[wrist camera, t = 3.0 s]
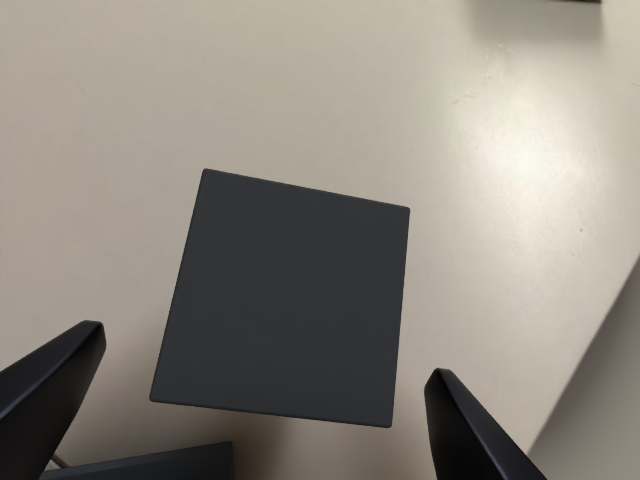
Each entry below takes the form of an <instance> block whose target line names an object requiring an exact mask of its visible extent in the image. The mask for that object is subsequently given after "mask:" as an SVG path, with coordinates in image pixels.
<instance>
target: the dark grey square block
mask: <svg viewBox="0 0 640 480" xmlns="http://www.w3.org/2000/svg"><path fill="white" fill-rule="evenodd" d="M409 216H410V208H408V207H405V206H399V205H394V204H389V203H384V202H378V201H373V200H368V199H363V198H358V197H352V196H347V195H342V194H337V193H332V192H326V191H321V190H316V189H311V188H305V187H300V186H295V185H290V184H285V183H279V182H274V181H269V180H264V179H259V178H253V177H248V176H243V175H238V174H232V173H227V172H222V171H217V170H212V169H204V170H203V172H202V176H201V180H200V185H199V189H198V193H197V197H196V202H195V206H194V210H193V214H192V218H191V223H190V227H189V231H188V235H187V240H186V244H185V248H184V252H183V256H182V261H181V265H180V269H179V273H178V278H177V282H176V286H175V290H174V294H173V299H172V303H171V307H170V311H169V315H168V320H167V324H166V328H165V332H164V337H163V341H162V345H161V349H160V353H159V358H158V362H157V366H156V370H155V375H154V379H153V383H152V387H151V391H150V396H149V398H150V401H152V402H158V403H167V404H176V405H185V406H194V407H203V408H212V409H221V410H230V411H239V412H248V413H257V414H266V415H275V416H284V417H293V418H302V419H311V420H320V421H329V422H338V423H347V424H356V425H364V426H373V427H382V428H390V427H391V426H392V418H393V406H394V394H395V382H396V371H397V359H398V347H399V335H400V323H401V311H402V299H403V287H404V275H405V264H406V252H407V240H408V228H409Z"/></svg>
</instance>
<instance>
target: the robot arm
mask: <svg viewBox="0 0 640 480" xmlns="http://www.w3.org/2000/svg"><path fill="white" fill-rule="evenodd" d="M105 350H106V338H105V332H104V326H103V324H102V323H101V322H98V321H90V320H85V321H82V322H80V323H78V324H77V325H75V326H74V327H72V328H70V329H69V330H67V331H65V332H64V333H62V334H61V335H59V336H57V337H56V338H54V339H52V340H51V341H49V342H48V343H46V344H44V345H43V346H41V347H39V348H38V349H36V350H35V351H33V352H31V353H30V354H28V355H27V356H25V357H23V358H22V359H20V360H18V361H17V362H15V363H14V364H12V365H10V366H9V367H7V368H5V369H4V370H2V371H1V372H0V480H39V478H40V476H41V475H42V473H43V471H44V469H45V468H46V466H47V464H48V462H49V461H50V459H51V457H52V456H53V454H54V452H55V450H56V449H57V447H58V445H59V444H60V442H61V440H62V438H63V437H64V435H65V433H66V431H67V430H68V428H69V426H70V425H71V423H72V421H73V419H74V418H75V416H76V414H77V412H78V410H79V408H80V406H81V404H82V402H83V400H84V397H85V395H86V393H87V391H88V388H89V386H90V384H91V382H92V380H93V377H94V375H95V373H96V371H97V368H98V366H99V364H100V362H101V359H102V357H103V355H104V353H105ZM424 396H425V405H426V414H427V423H428V431H429V440H430V447H431V452H432V458H433V462H434V467H435V471H436V476H437V480H547V479H546V478H545V476H544V475H543V474H542V473H541V472H540V471H539V470H538V468H537V467H536V466H535V465H534V464H533V463H532V462H531V460H530V459H529V458H528V457H527V456H526V455H525V454H524V452H523V451H522V450H521V449H520V448H519V447H518V446H517V444H516V443H515V442H514V441H513V440H512V439H511V438H510V437H509V435H508V434H507V433H506V432H505V431H504V430H503V429H502V427H501V426H500V425H499V424H498V423H497V422H496V421H495V419H494V418H493V417H492V416H491V415H490V414H489V413H488V412H487V410H486V409H485V408H484V407H483V406H482V405H481V404H480V402H479V401H478V400H477V399H476V398H475V397H474V396H473V394H472V393H471V392H470V391H469V390H468V389H467V388H466V387H465V385H464V384H463V383H462V382H461V381H460V380H459V379H458V377H457V376H456V375H455V374H454V373H453V372H452V371H451V370H449V369H442V368H436V369H435V370H434V371H433V373H432V374H431V376H430V378H429V380H428V381H427V383H426V385H425V388H424Z"/></svg>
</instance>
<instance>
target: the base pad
mask: <svg viewBox="0 0 640 480" xmlns="http://www.w3.org/2000/svg"><path fill="white" fill-rule="evenodd" d="M39 480H234V473H233V453H232V442H231V441H229V442H223V443H217V444H211V445H205V446H199V447H192V448H186V449H180V450H174V451H168V452H161V453H155V454H149V455H143V456H137V457H131V458H124V459H118V460H112V461H106V462H100V463H94V464H87V465H81V466H75V467H69V468H63V469H56V470H50V471H44V472H43V473H42V475H41V476H40V478H39Z"/></svg>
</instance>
